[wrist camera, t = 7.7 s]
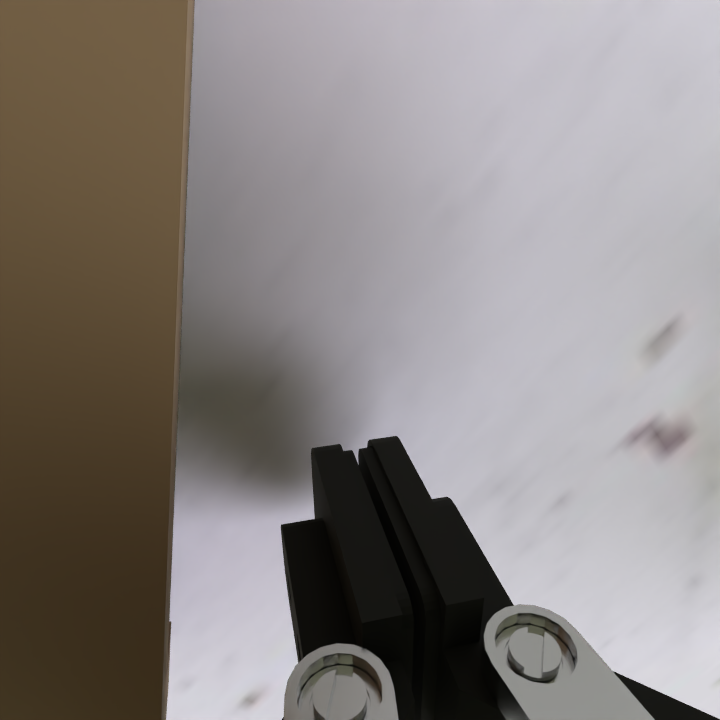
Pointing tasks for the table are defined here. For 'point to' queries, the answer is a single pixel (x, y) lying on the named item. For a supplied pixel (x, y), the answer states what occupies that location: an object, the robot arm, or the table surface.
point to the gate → (90, 350)
